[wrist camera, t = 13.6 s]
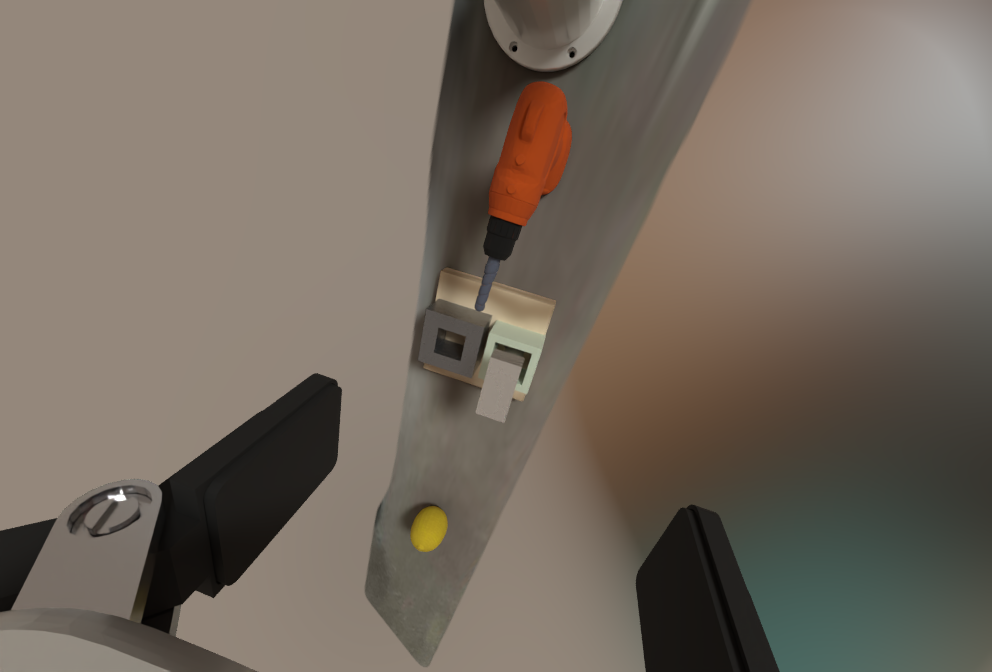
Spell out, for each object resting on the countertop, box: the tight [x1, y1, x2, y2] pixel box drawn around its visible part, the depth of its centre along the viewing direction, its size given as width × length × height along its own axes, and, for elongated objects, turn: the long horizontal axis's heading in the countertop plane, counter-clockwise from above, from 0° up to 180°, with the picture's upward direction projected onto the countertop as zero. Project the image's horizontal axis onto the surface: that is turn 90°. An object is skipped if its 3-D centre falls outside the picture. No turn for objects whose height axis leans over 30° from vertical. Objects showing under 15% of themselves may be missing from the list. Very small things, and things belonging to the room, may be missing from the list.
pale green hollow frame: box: [478, 320, 546, 394], centre depth 45 cm, size 6×6×4 cm
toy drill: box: [474, 82, 572, 312], centre depth 35 cm, size 5×19×15 cm, turn 163°
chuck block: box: [418, 299, 492, 379], centre depth 46 cm, size 7×7×4 cm
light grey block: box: [476, 346, 525, 423], centre depth 42 cm, size 7×3×10 cm, turn 166°
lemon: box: [411, 506, 448, 552], centre depth 61 cm, size 6×6×8 cm
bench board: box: [424, 267, 556, 401], centre depth 48 cm, size 14×14×2 cm
